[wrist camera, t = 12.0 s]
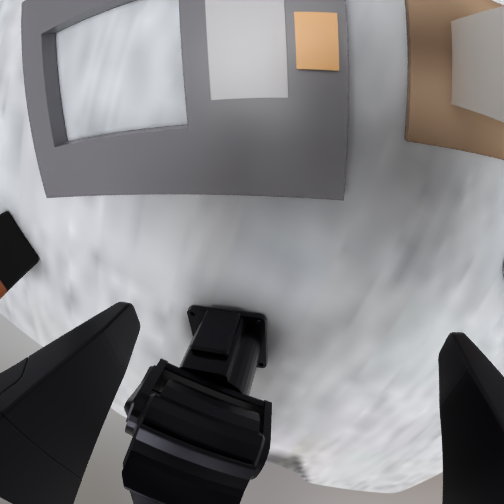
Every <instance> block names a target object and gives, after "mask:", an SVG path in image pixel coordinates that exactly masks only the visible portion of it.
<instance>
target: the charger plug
mask: <svg viewBox="0 0 504 504" xmlns="http://www.w3.org/2000/svg"><path fill="white" fill-rule="evenodd" d="M451 30H452V97H451V104H452V105H455V106H459V107H462V108H465V109H468V110H471V111H474V112H477V113H480V114H483V115H486V116H488V117H491V118H494V119H496V120H499V121H502V122H504V6H502V7H498V8H494V9H490V10H487V11H483V12H479V13H476V14H473V15H469V16H466V17H463V18H460V19H456V20H453V21H451Z"/></svg>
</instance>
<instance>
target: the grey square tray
mask: <svg viewBox="0 0 504 504" xmlns="http://www.w3.org/2000/svg"><path fill="white" fill-rule="evenodd" d="M132 1H135V0H25V1H24V2H22V16H21V36H22V60H23V73H24V84H25V93H26V101H27V108H28V115H29V121H30V127H31V133H32V138H33V143H34V148H35V153H36V157H37V162H38V166H39V170H40V174H41V178H42V182H43V186H44V190H45V193H46V197H47V198H54V197H73V196H97V195H135V194H213V195H252V196H277V197H298V198H315V199H331V200H344V189H345V174H346V157H347V135H348V37H347V16H346V1H345V0H179V14H180V33H181V49H182V63H183V76H184V88H185V100H186V111H187V121H188V125H177V126H166V127H157V128H148V129H140V130H132V131H125V132H118V133H111V134H105V135H99V136H94V137H88V138H83V139H77V140H72V141H68V142H67V136H66V131H65V125H64V119H63V112H62V105H61V98H60V89H59V80H58V70H57V58H56V40H55V33H57V32H59V31H61V30H63V29H65V28H67V27H69V26H71V25H73V24H76V23H78V22H80V21H82V20H85V19H87V18H89V17H92V16H94V15H97V14H99V13H102V12H104V11H107V10H109V9H112V8H115V7H117V6H120V5H123V4H126V3H129V2H132Z"/></svg>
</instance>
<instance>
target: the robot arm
mask: <svg viewBox="0 0 504 504" xmlns="http://www.w3.org/2000/svg"><path fill="white" fill-rule="evenodd" d="M187 314H188V318H189V322H190V326H191V330H192V334H193V339H192V341H191V343H190V345H189V347H188V350H187V352H186V354H185V356H184V358H183V361H182V363H181V365H180V367H176V366H174V365H172V364H170V363H168V361H166V360H164V359H162V358H161V359H160V361H159V363H158V364H157V366H155V365H154V366H150V367H149V369H148V371H147V373H146V375H145V377H144V379H143V380H142V382H141V384H140V385H139V386H138V388H137V389H136V390H135V391H134V393H133V394H132V395H131V396H130V398H129V399H128V400H127V402H126V404H125V406H124V409H125V412H126V414H127V420H126V422H127V425H126V429H125V432H126V433H128V434H130V435H132V436H133V438H132V441H131V443H130V446H129V449H128V451H127V454H126V456H125V459H124V461H123V470H122V478H123V484H124V488H125V489H127V490H129V491H130V493H131V496H132V500H133V503H134V504H240V501H241V498H242V496H243V493H244V491H245V489H246V487H247V484H248V482H249V480H250V479H254V478H256V477H257V475H258V474H259V473H260V471H261V470H262V468H263V466H264V464H265V462H266V459H267V456H268V453H269V449H270V441H271V415H272V402H269V401H266V400H264V401H262V400H260V399H257V398H254V397H251V396H249V393H250V389H251V386H252V382H253V378H254V374H255V370H256V367H259V368H264V367H266V365H267V331H266V317H265V316H263V315H261V314H254V313H244V312H236V311H227V310H219V309H211V308H203V307H196V306H191V307H189V309H188V311H187ZM258 320H261V321H258ZM139 331H140V322H139V319H138V317H137V314H136V311H135V309H134V306H133V305H132V304H131V303H126V302H118V303H116V304H115V305H113V306H111V307H109V308H108V309H106V310H104V311H103V312H101V313H99V314H98V315H96V316H94V317H93V318H91V319H89V320H88V321H86V322H84V323H83V324H81V325H79V326H78V327H76V328H74V329H73V330H71V331H69V332H68V333H66V334H64V335H63V336H61V337H59V338H58V339H56V340H55V341H53V342H51V343H50V344H48V345H46V346H45V347H43V348H42V349H40V350H38V351H37V352H35V353H33V354H32V355H30V356H29V358H28V357H27V358H25V359H24V360H22V361H21V362H19V363H17V364H16V365H14V366H12V367H11V368H9V369H7V370H5V371H4V372H2V373H0V504H73V503H74V500H75V497H76V495H77V492H78V489H79V486H80V484H81V481H82V477H83V475H84V472H85V469H86V467H87V464H88V461H89V459H90V456H91V454H92V451H93V449H94V446H95V443H96V441H97V438H98V436H99V433H100V431H101V428H102V426H103V423H104V421H105V419H106V416H107V414H108V412H109V409H110V407H111V405H112V402H113V400H114V398H115V395H116V393H117V391H118V388H119V386H120V384H121V382H122V379H123V377H124V375H125V372H126V369H127V367H128V364H129V361H130V358H131V355H132V352H133V349H134V346H135V343H136V340H137V337H138V334H139ZM438 363H439V405H440V419H441V433H442V451H443V503H442V504H504V377H503V375H502V374H501V373H500V372H499V371H498V370H497V369H496V367H495V366H494V365H493V364H492V363H491V362H490V361H489V359H488V358H487V357H486V356H485V355H484V354H483V353H482V352H481V351H480V350H479V348H478V347H477V346H476V345H475V344H474V343H473V342H472V341H471V340H470V339H469V338H468V337H467V336H466V335H465V334H464V333H462V332H452V333H450V334H449V335H448V337H447V339H446V341H445V343H444V345H443V347H442V349H441V351H440V353H439V358H438Z"/></svg>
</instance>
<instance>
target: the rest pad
mask: <svg viewBox="0 0 504 504" xmlns="http://www.w3.org/2000/svg"><path fill="white" fill-rule="evenodd" d="M405 5H406V19H407V39H408V93H407V115H406V130H405V140H406V141H408V142H415V143H422V144H428V145H435V146H440V147H446V148H452V149H457V150H462V151H467V152H472V153H477V154H481V155H486V156H490V157H494V158H498V159H502V160H504V122H502V121H499V120H496V119H494V118H491V117H488V116H486V115H483V114H480V113H477V112H474V111H471V110H468V109H465V108H462V107H459V106H455V105H452V104H451V97H452V30H451V21H453V20H456V19H460V18H463V17H466V16H469V15H473V14H476V13H479V12H483V11H487V10H490V9H494V8H498V7H502V6H504V5H501V4H499V3H497V2H494V1H492V0H405Z"/></svg>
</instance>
